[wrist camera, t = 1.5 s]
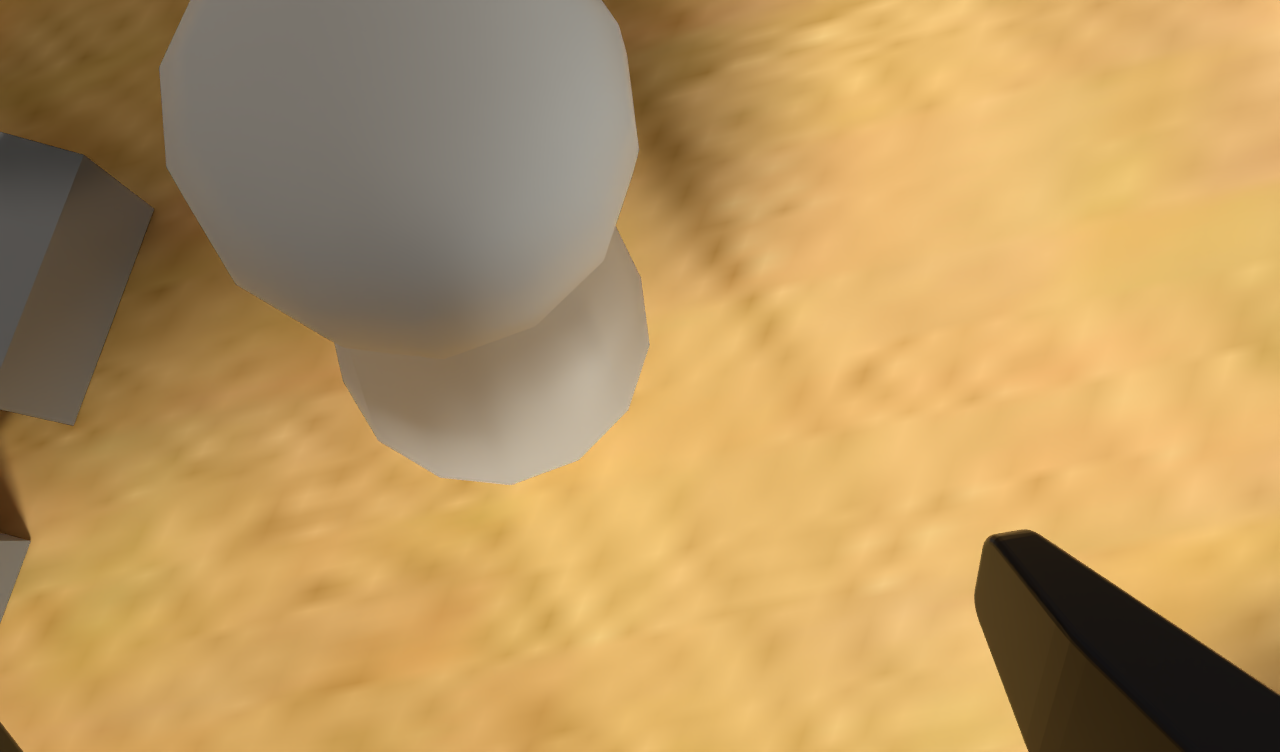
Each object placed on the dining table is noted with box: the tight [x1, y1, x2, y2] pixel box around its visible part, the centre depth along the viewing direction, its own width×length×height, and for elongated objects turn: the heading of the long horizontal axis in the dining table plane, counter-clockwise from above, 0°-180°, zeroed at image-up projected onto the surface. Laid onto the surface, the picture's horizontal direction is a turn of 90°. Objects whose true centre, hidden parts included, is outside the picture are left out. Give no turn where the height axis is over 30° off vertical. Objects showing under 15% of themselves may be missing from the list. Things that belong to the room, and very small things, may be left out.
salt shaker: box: [159, 0, 650, 485], centre depth 15 cm, size 6×6×13 cm
